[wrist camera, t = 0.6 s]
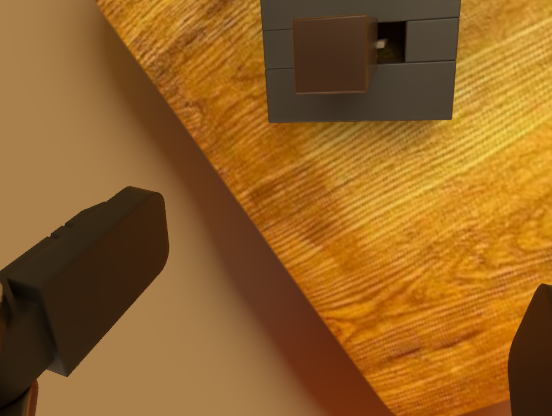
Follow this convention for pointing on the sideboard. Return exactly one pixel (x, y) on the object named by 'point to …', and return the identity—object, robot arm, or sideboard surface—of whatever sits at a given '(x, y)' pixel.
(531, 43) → the sideboard surface
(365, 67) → the knife
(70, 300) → the robot arm
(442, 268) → the sideboard surface
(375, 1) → the knife block
